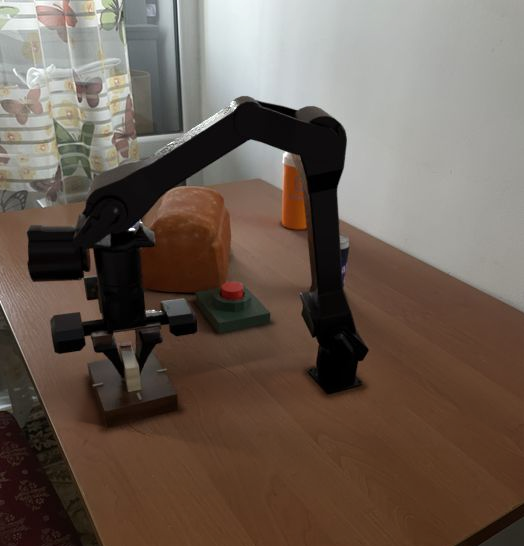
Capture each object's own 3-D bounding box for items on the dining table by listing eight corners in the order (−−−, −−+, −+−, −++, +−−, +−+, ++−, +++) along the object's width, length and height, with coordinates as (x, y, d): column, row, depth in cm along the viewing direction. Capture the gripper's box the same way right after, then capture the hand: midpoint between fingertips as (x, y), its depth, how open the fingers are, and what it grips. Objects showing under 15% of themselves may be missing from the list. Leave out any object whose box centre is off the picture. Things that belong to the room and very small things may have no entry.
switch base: (180, 409, 78) (179, 392, 76) (104, 429, 74) (101, 411, 72) (156, 364, 87) (155, 348, 85) (87, 379, 83) (84, 362, 81)
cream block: (141, 389, 77) (138, 365, 74) (128, 392, 76) (125, 367, 74) (133, 364, 82) (130, 340, 79) (120, 366, 81) (118, 342, 79)
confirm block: (269, 323, 99) (271, 303, 97) (218, 333, 95) (218, 313, 93) (243, 293, 108) (243, 275, 106) (195, 302, 104) (195, 283, 102)
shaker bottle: (272, 220, 143) (277, 140, 131) (302, 216, 146) (309, 138, 135) (288, 232, 136) (294, 149, 125) (319, 228, 139) (328, 147, 128)
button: (246, 298, 99) (246, 289, 98) (226, 302, 98) (226, 293, 97) (237, 288, 102) (238, 280, 101) (217, 292, 100) (217, 283, 100)
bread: (138, 292, 107) (132, 218, 98) (158, 242, 127) (154, 178, 119) (225, 296, 107) (226, 223, 99) (232, 246, 127) (233, 182, 119)
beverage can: (341, 302, 107) (349, 245, 100) (312, 298, 108) (318, 241, 101) (343, 289, 112) (351, 234, 105) (315, 286, 113) (322, 230, 106)
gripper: (177, 245, 79) (181, 336, 88) (40, 258, 73) (58, 354, 82) (197, 279, 70) (199, 376, 79) (43, 297, 65) (63, 399, 73)
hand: (130, 374), depth 79 cm, fingers closed on cream block, 2 cm apart
